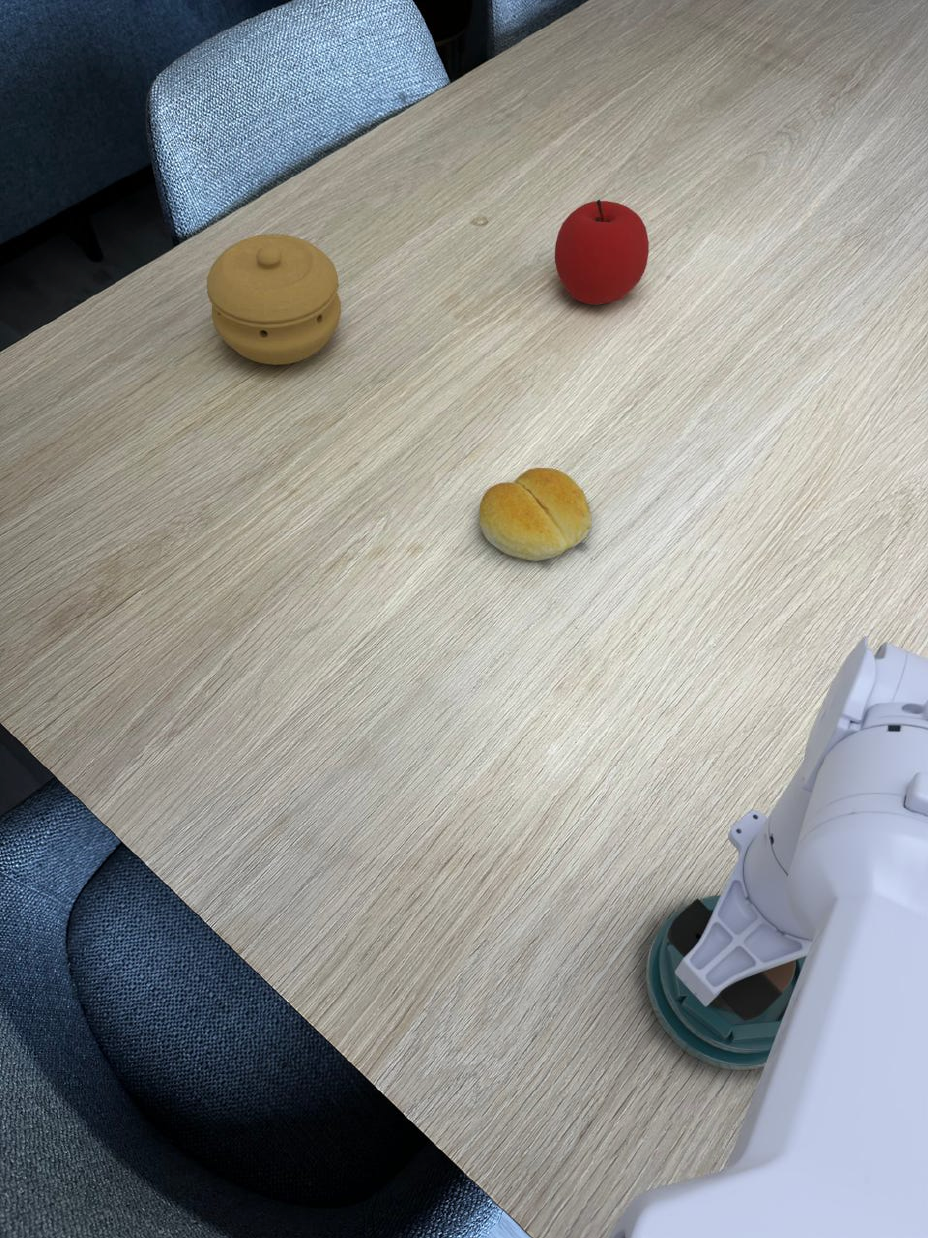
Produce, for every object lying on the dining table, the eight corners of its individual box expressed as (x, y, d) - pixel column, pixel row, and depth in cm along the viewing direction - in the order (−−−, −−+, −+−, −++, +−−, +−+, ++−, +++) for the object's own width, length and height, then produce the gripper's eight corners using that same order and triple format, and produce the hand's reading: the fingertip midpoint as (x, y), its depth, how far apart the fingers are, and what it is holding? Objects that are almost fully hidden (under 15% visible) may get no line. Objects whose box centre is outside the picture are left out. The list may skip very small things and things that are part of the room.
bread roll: (461, 512, 86) (462, 479, 83) (551, 474, 89) (556, 440, 85) (513, 581, 82) (517, 549, 78) (606, 539, 85) (613, 506, 81)
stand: (828, 1062, 61) (851, 1046, 58) (663, 1078, 61) (676, 1062, 57) (783, 899, 67) (801, 876, 64) (632, 911, 66) (642, 888, 63)
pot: (202, 319, 99) (182, 227, 91) (317, 289, 102) (308, 197, 94) (240, 397, 93) (222, 305, 85) (362, 362, 96) (356, 271, 88)
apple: (626, 328, 100) (644, 237, 92) (537, 306, 102) (547, 214, 94) (650, 274, 105) (669, 183, 97) (565, 253, 107) (576, 162, 99)
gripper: (865, 692, 50) (785, 814, 61) (651, 871, 44) (606, 970, 55) (990, 797, 47) (882, 906, 58) (778, 1004, 41) (703, 1081, 52)
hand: (754, 944), depth 56 cm, fingers open, 7 cm apart
